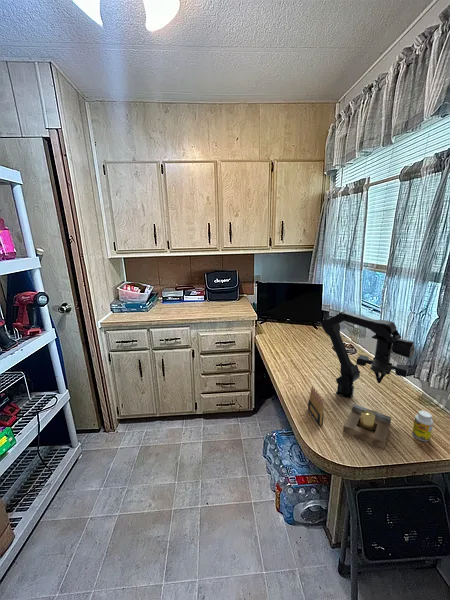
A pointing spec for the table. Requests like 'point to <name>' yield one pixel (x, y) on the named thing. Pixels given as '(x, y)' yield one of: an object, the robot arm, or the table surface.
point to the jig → (375, 438)
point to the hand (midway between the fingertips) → (378, 382)
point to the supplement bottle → (422, 426)
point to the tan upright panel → (316, 406)
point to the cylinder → (367, 420)
